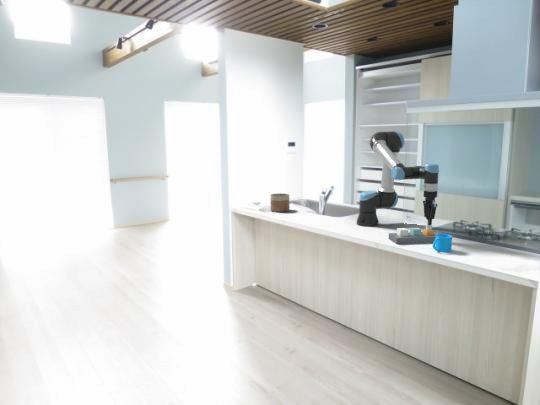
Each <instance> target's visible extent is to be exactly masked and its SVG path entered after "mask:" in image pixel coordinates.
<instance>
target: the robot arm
mask: <svg viewBox="0 0 540 405" xmlns="http://www.w3.org/2000/svg"><path fill="white" fill-rule="evenodd" d="M370 137H371V138H370V139H369V146H370V149H371V150H372V151H373V153H376V154H377V155H378V156H379V157H380V158H381V159H382V162H383V163H382V170H381V180H380V187H379V188H378V189H377V190H365V191H362V192H360V194H359V199H358V200H359V206H358V207H359V209H358V210H359V211H358V212H359V213H358V216H357V219H356V225H357V226H362V227H375V226H378V225H379V222H380V221H379V219H378V216H377V210H380V209H381V210H385V209H388V210H389V209H392V208H393V209H394V208H395V207H396V206H397V204H398V201H399V195H398V193H397V192H396V189H395V188H394V186H395V181H402V180H403V181H405V180H423V183H424V184H423V197H424V198H425V199H424V200H422V204H423V216H424V218H425V220H426V221H425V229H426V230H432V225H433V220H434V219H435V217H436V216H435V215H436V211H437V207H438V203H436V198H438V190H439V175H440V174H439V172H440V169H439V166H440V165H439V164H437V163H426V164H425V165H424V166H422V165H414V166H406V165H404V164H403V162H401V160H400V159H399V158H398V154H399V153H400V150H401V149H403V148H404V146H405V138H404V135H403V133H402V132H400V131H395V130H394V131H378V132H375V133H374V134H373V135H372V136H370Z"/></svg>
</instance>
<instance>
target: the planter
mask: <svg viewBox="0 0 540 405" xmlns="http://www.w3.org/2000/svg"><path fill="white" fill-rule="evenodd" d="M270 211H271V212H274V213H286V212H288V211H289V212H290V194H288V193H281V192H280V193H271V194H270Z"/></svg>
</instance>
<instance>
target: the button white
mask: <svg viewBox="0 0 540 405" xmlns="http://www.w3.org/2000/svg"><path fill="white" fill-rule="evenodd" d="M408 232H409V229H408V228H406V227H397V228H396V233H397V235H398V236H400V237H407V236H408Z"/></svg>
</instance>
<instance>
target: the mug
mask: <svg viewBox="0 0 540 405" xmlns="http://www.w3.org/2000/svg"><path fill="white" fill-rule="evenodd" d="M432 248H433V249H434V250H435V251H436V252H439V251H440V253H451V252H452V248H453V235H451V234H446V233H437V234H436V239H435V241H434V242H433V243H432Z"/></svg>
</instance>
